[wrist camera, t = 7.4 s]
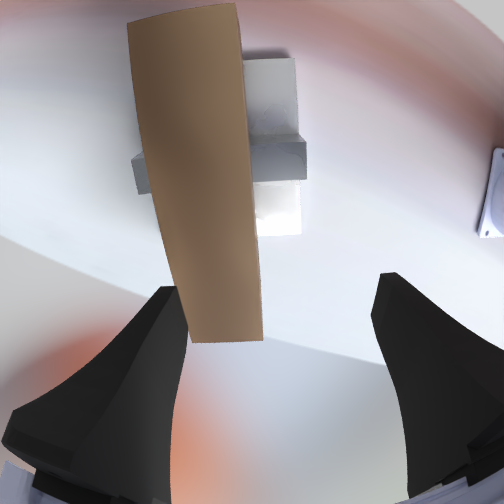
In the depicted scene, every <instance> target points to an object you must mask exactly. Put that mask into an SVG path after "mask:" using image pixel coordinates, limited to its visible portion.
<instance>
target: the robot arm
mask: <svg viewBox="0 0 504 504" xmlns="http://www.w3.org/2000/svg"><path fill="white" fill-rule="evenodd" d="M477 234H478V236H479V237H480V238H492V237H504V149H502V148H496V149H495V150H494V153H493V161H492V167H491V173H490V179H489V185H488V190H487V195H486V199H485V204H484V208H483V213H482V217H481V221H480V224H479V228H478V232H477ZM371 319H372V323H373V327H374V331H375V334H376V338H377V341H378V344H379V346H380V349H381V352H382V354H383V357H384V360H385V362H386V365H387V367H388V370H389V373H390V375H391V378H392V381H393V384H394V386H395V390H396V393H397V397H398V401H399V405H400V411H401V416H402V421H403V428H404V434H405V442H406V453H407V475H408V483H407V491H408V495H409V499H408V500H405V501H402V502H399V503H396V504H504V350H502V349H501V348H499V347H497V346H495V345H493V344H491V343H490V342H488V341H486V340H485V339H483V338H481V337H480V336H478V335H477V334H475V333H474V332H472V331H470V330H469V329H467V328H466V327H464V326H463V325H462V324H460V323H459V322H458V321H456V320H455V319H454V318H452V317H451V316H450V315H448V314H447V313H446V312H444V311H443V310H442V309H441V308H439V307H438V306H437V305H436V304H434V303H433V302H432V301H431V300H429V299H428V298H427V297H426V296H425V295H423V294H422V293H421V292H420V291H419V290H417V289H416V288H415V287H414V286H413V285H411V284H410V283H409V282H408V281H406V280H405V279H404V278H403V277H401V276H400V275H399V274H397V273H396V272H393V273H381V274H380V278H379V283H378V287H377V292H376V296H375V300H374V304H373V308H372V312H371ZM187 337H188V324H187V320H186V317H185V314H184V310H183V307H182V303H181V300H180V296H179V292H178V289H177V286H161V287H160V288H159V289H158V290H157V291H156V292H155V293H154V294H153V296H152V297H151V298H150V299H149V300H148V302H147V303H146V304H145V305H144V306H143V307H142V308H141V310H140V311H139V312H138V313H137V314H136V315H135V316H134V318H133V319H132V320H131V321H130V322H129V323H128V324H127V325H126V327H125V328H124V329H123V330H122V331H121V332H120V333H119V334H118V335H117V336H116V337H115V338H114V339H113V340H112V341H111V342H110V343H109V344H108V345H107V346H106V347H105V348H104V349H103V350H102V351H101V352H100V353H99V354H98V355H97V356H96V357H94V358H93V359H92V360H91V361H90V362H89V363H87V364H86V365H85V366H84V367H83V368H81V369H80V370H79V371H77V372H76V373H75V374H73V375H72V376H71V377H69V378H68V379H67V380H65V381H64V382H63V383H61V384H60V385H58V386H57V387H55V388H54V389H52V390H50V391H49V392H48V393H46V394H44V395H42V396H41V397H39V398H37V399H35V400H33V401H32V402H29V403H27V404H25V405H23V406H21V407H20V408H17V409H15V410H13V412H12V415H11V417H10V420H9V422H8V425H7V427H6V430H5V432H4V435H3V438H2V441H1V442H2V444H3V445H4V447H6V448H7V449H8V450H9V451H10V452H12V453H13V454H15V455H16V456H17V457H19V458H21V459H22V460H23V461H25V462H26V463H28V464H29V465H31V466H32V467H34V468H36V472H35V475H33V474H32V473H30V472H28V471H26V470H24V469H22V468H20V467H19V466H17V465H15V464H13V463H11V462H9V461H5V464H4V467H3V471H2V474H1V477H0V504H171V491H170V445H171V430H172V418H173V409H174V403H175V399H176V394H177V390H178V384H179V381H180V376H181V372H182V367H183V363H184V358H185V354H186V346H187Z"/></svg>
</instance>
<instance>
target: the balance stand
mask: <svg viewBox="0 0 504 504" xmlns="http://www.w3.org/2000/svg"><path fill="white" fill-rule="evenodd" d="M243 69H244V80H245V92H246V104H247V116H248V127H249V140H250V152H251V164H252V176H253V189H254V201H255V214H256V227H257V236H270V235H285V234H300V180H305V179H307V154H306V141H305V140H304V139H303V138H302V137H301V136H300V135H299V127H298V105H297V86H296V70H295V58H277V59H256V60H243ZM131 162H132V167H133V171H134V176H135V181H136V185H137V190H138V194H147V193H151V188H150V183H149V178H148V173H147V168H146V163H145V158H144V152H141V153H140V154H139V155H137V156H136V157H134V158H133V159H132V160H131Z"/></svg>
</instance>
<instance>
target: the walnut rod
mask: <svg viewBox="0 0 504 504" xmlns="http://www.w3.org/2000/svg"><path fill="white" fill-rule="evenodd" d="M127 30H128V43H129V53H130V63H131V72H132V81H133V89H134V96H135V103H136V110H137V117H138V123H139V129H140V135H141V141H142V147H143V152H144V158H145V163H146V168H147V173H148V178H149V183H150V188H151V193H152V197H153V202H154V206H155V211H156V215H157V219H158V224H159V228H160V232H161V236H162V240H163V244H164V248H165V252H166V256H167V259H168V263H169V267H170V271H171V274H172V278H173V281H174V285H175V286H177V289H178V292H179V296H180V300H181V303H182V307H183V310H184V314H185V317H186V320H187V324H188V331H189V334H190V337H191V340H192V343H216V342H244V341H263V323H262V301H261V280H260V266H259V253H258V240H257V227H256V214H255V201H254V189H253V176H252V164H251V152H250V140H249V127H248V116H247V104H246V92H245V80H244V69H243V57H242V46H241V35H240V27H239V21H238V16H237V11H236V6H235V3H226V4H217V5H210V6H203V7H196V8H190V9H185V10H180V11H175V12H170V13H165V14H161V15H157V16H153V17H149V18H145V19H141V20H137V21H134V22H130V23H127Z"/></svg>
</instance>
